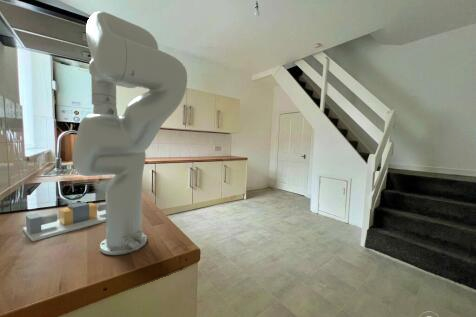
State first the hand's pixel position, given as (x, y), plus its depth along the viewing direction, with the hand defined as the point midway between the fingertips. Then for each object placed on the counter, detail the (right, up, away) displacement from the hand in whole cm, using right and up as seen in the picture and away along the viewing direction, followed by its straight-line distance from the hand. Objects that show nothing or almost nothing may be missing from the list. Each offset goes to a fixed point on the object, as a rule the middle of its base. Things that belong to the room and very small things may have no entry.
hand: (104, 148), depth 75 cm
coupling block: (-10, -27, 0) cm, 29 cm away
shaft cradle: (-10, -28, 0) cm, 30 cm away
